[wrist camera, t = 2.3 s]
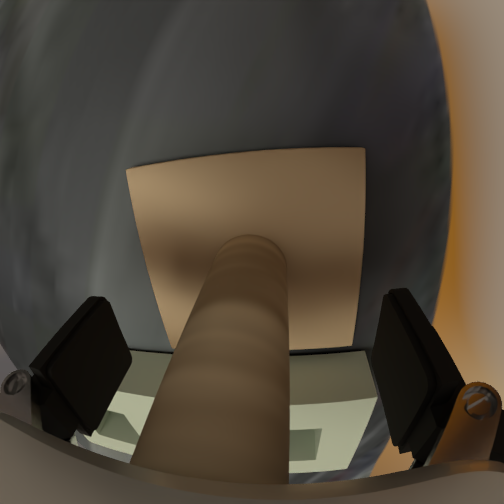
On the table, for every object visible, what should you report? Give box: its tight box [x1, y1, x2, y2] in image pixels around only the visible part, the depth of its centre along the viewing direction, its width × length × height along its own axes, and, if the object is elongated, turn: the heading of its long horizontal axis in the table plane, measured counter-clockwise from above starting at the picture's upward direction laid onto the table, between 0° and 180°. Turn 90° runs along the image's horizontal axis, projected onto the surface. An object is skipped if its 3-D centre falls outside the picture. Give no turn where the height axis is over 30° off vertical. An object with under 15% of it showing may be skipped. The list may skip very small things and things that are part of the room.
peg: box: [129, 234, 290, 484], centre depth 8 cm, size 3×3×10 cm
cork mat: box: [126, 147, 366, 350], centre depth 13 cm, size 10×10×1 cm
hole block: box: [83, 350, 378, 473], centre depth 17 cm, size 10×22×4 cm, turn 95°
